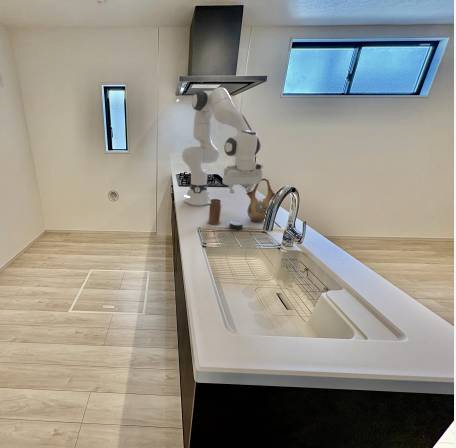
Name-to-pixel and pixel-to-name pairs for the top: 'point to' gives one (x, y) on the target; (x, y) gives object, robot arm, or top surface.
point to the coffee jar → (214, 211)
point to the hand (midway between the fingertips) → (240, 192)
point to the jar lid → (236, 225)
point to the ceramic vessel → (259, 204)
